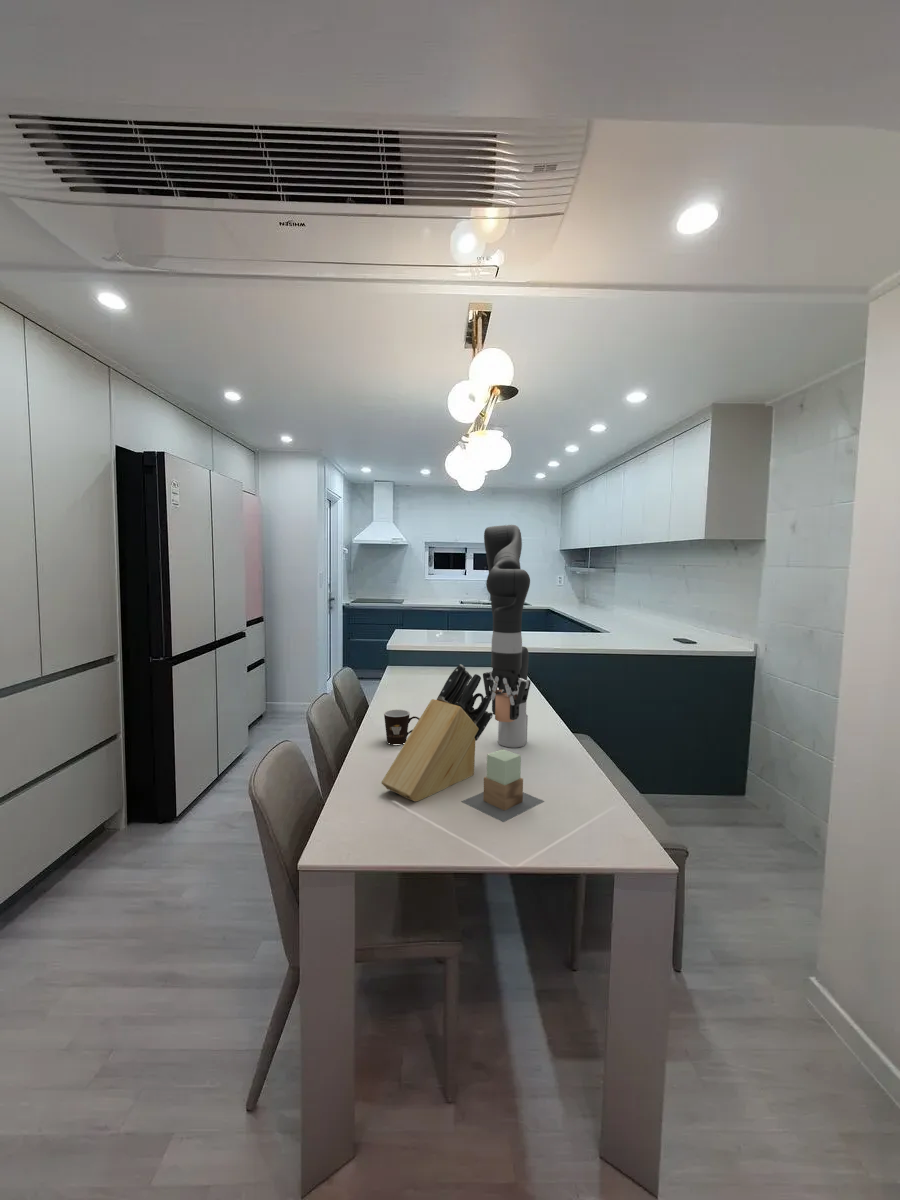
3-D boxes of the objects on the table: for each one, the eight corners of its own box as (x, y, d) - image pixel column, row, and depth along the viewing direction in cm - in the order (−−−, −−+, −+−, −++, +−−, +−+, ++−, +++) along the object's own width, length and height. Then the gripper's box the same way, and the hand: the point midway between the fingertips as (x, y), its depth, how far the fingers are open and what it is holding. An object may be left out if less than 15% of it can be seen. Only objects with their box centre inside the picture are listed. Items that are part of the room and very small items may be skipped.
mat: (502, 785, 142) (502, 783, 142) (544, 803, 132) (544, 801, 131) (461, 803, 131) (461, 801, 131) (503, 824, 121) (503, 822, 120)
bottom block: (501, 792, 136) (502, 770, 136) (522, 801, 131) (523, 778, 130) (483, 800, 131) (483, 777, 131) (504, 810, 126) (505, 786, 126)
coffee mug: (379, 744, 172) (379, 714, 172) (391, 736, 180) (391, 708, 180) (410, 749, 168) (410, 719, 167) (421, 741, 176) (422, 712, 175)
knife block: (495, 767, 154) (497, 664, 152) (410, 807, 128) (411, 684, 126) (466, 757, 162) (468, 659, 160) (380, 793, 135) (380, 677, 133)
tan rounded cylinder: (503, 714, 133) (504, 691, 133) (519, 719, 130) (519, 695, 129) (490, 718, 130) (491, 695, 129) (506, 723, 126) (506, 699, 126)
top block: (502, 771, 135) (502, 749, 134) (520, 778, 131) (520, 755, 130) (486, 777, 131) (487, 754, 130) (504, 785, 126) (505, 761, 126)
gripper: (539, 651, 126) (537, 720, 127) (494, 644, 136) (493, 708, 137) (519, 655, 121) (518, 726, 122) (475, 647, 131) (474, 713, 132)
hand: (505, 716), depth 130 cm, fingers closed on tan rounded cylinder, 5 cm apart
